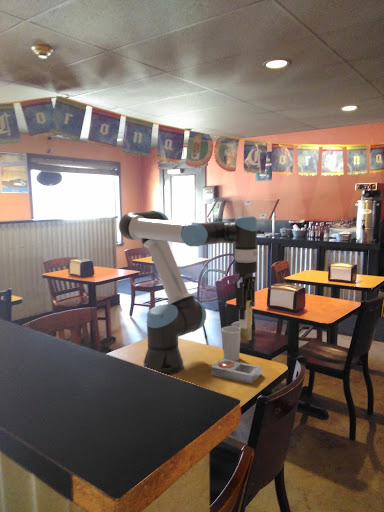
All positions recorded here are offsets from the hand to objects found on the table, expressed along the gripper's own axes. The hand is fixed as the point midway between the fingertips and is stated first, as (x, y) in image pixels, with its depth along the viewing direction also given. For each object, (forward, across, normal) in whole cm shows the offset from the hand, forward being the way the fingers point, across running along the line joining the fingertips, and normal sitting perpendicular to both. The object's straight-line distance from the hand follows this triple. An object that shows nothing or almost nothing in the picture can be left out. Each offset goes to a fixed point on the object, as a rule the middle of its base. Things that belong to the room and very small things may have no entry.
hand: (245, 325), depth 140 cm
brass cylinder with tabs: (+5, 0, 0) cm, 5 cm away
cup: (+19, +14, +12) cm, 26 cm away
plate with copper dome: (+19, 0, +4) cm, 19 cm away
